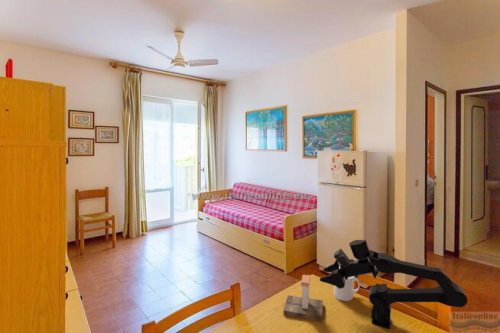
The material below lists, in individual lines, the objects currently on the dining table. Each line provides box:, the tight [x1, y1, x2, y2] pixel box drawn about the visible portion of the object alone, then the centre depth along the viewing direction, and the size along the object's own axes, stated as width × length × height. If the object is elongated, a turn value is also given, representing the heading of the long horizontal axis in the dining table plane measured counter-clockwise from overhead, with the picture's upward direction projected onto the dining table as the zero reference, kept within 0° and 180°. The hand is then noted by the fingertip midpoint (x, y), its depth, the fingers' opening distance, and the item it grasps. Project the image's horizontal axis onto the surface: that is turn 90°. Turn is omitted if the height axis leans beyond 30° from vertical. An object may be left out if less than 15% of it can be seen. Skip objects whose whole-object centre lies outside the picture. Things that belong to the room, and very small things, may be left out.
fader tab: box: [300, 274, 311, 309], centre depth 120 cm, size 3×7×12 cm, turn 164°
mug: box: [333, 276, 361, 302], centre depth 131 cm, size 9×12×11 cm
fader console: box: [283, 295, 324, 322], centre depth 121 cm, size 16×12×2 cm
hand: (321, 274), depth 121 cm, fingers open, 9 cm apart
